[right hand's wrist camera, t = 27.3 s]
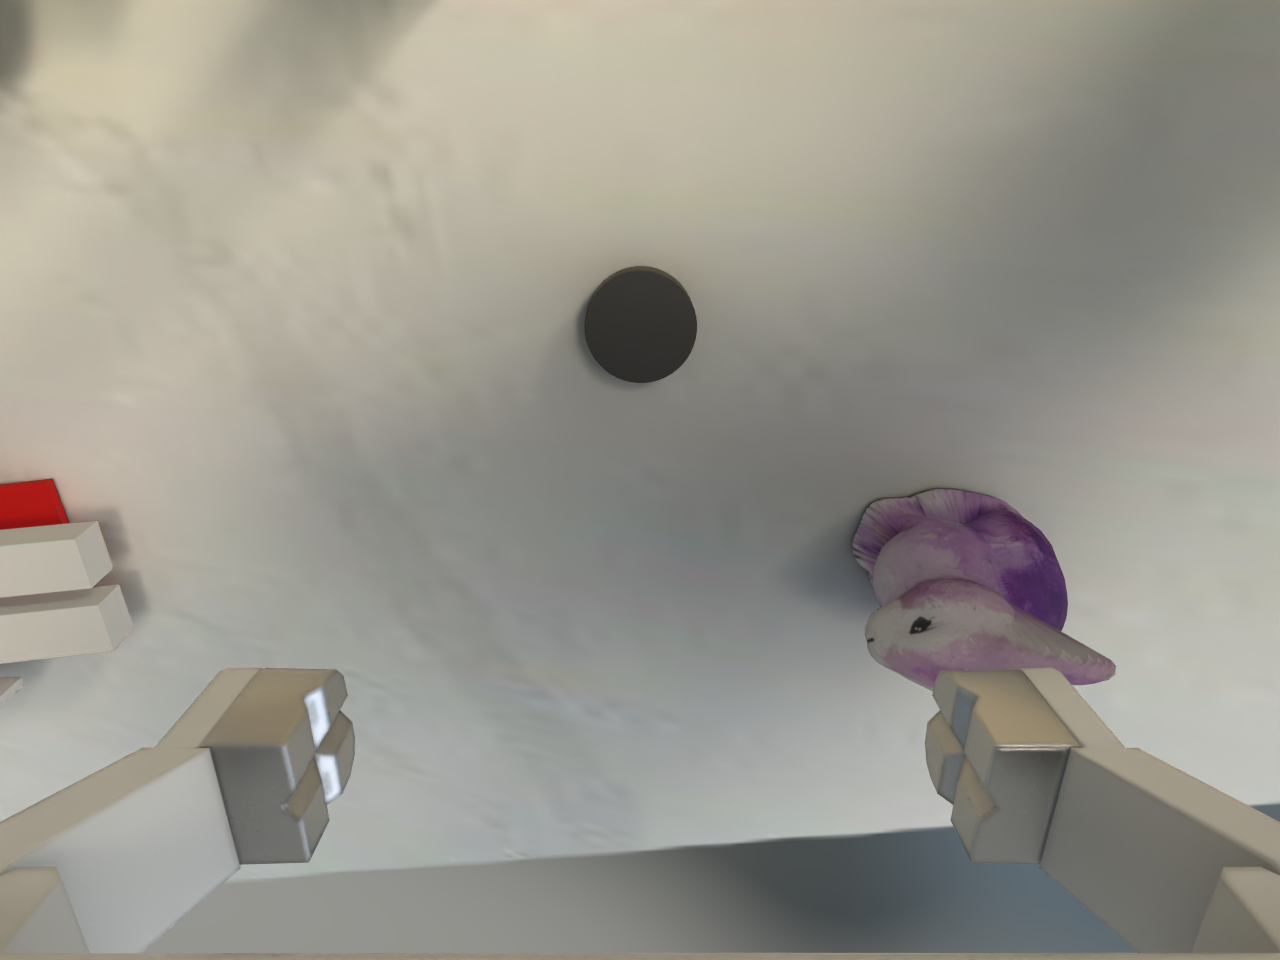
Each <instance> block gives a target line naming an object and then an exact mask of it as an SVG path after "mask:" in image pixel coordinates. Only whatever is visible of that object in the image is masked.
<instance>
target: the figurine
mask: <svg viewBox="0 0 1280 960" xmlns="http://www.w3.org/2000/svg"><path fill="white" fill-rule="evenodd" d="M862 518H863V520H862V521H860V522H861V524H860V525H859V528H858V529H857V533H855V537H854V539H853V544H852V546H853V548H852V551H853V554H854V557H855V559H856V561H857V562H858V563H859V564H860V566H862V567H863V568H864V569H866V570H867V571H868V572H869V578H870V583H871V585H872V586H873V588H874V594H875V597H876V599H877V601H878V603H879V604H880V606H881V607H880V608H879V609H878V610H876V611H875V612H874V613H872V614H871V616H870V617H869V619H868V622H867V624H866V629H865V636H866V639H867V645H868V650H869V652H870V654H871V656H872V657H873V658H874V659H875V660H876V661H877V662H878V663H880V664H881V665H883V666H885V667H886V668H888V669H890V670H892V671H895V672H897V673H899V674H900V675H902V676H904V677H905V678H907V679H909V680H911V681H913V682H915V683H917V684H919V685H921V686H923V687H925V688H927V689H929V690H931V691H933V689H934V684H935V680H936V678H937V676H938V674H939V672H940V670H1014V669H1019V668H1051V667H1052V668H1054V669H1056V670H1058V671H1060V672H1061V673H1062V674H1063V675H1064V676H1065V678H1066V679H1067V680H1068V681H1069V682H1070V683H1071V685H1086V684H1094V683H1097V682H1101V681H1105V680H1109V679H1110V678H1111V677H1112V676H1114V675H1115V669H1116V666H1115V664H1114V663H1113V662H1112V661H1111V660H1110V659H1108V658H1106V657H1105V656H1103V655H1101V654H1099V653H1098V652H1096V651H1094V650H1092V649H1091V648H1089V647H1087V646H1085V645H1084V644H1082V643H1080V642H1078V641H1077V640H1075V639H1073V638H1071V637H1069V636H1068V635H1066V634H1064V633H1062V632H1061V631H1062V628H1063V626H1064V623H1065V620H1066V616H1067V607H1068V600H1067V591H1066V585H1065V579H1064V576H1063V573H1062V571H1061V568H1060V566H1059V563H1058V560H1057V558H1056V555H1055V553H1054V550H1053V548H1052V545H1051V544H1050V542H1049V541H1048V540H1047V538H1046V537H1045V536H1044V534H1043V533H1042V532H1041V531H1040V530H1039V529H1038V528H1037V527H1035V526H1034V525H1033V524H1032V523H1030V522H1029V521H1027V520H1026V519H1024V518H1023V517H1022V516H1021V515H1020V514H1019V513H1018V512H1017V511H1016V510H1015V509H1013V508H1012V507H1011V506H1010V505H1008V504H1007V503H1006V502H1004V501H1002V500H1000V499H997V498H994V497H991V496H988V495H983V494H977V493H972V492H967V491H962V490H954V489H938V488H936V489H933V490H930V491H926V492H923V493H920V494H916V495H915V496H912V497H910V498H908V497H905V498H888V499H882V500H879V501H875V502H873V503H872V504H871V505H870V507H869V508H867V509H866V512H865V513H864V516H863V517H862Z"/></svg>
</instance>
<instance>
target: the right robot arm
mask: <svg viewBox="0 0 1280 960" xmlns="http://www.w3.org/2000/svg"><path fill="white" fill-rule="evenodd" d="M347 696H348V695H347V690H346V685H345V681H344V676H343V675H342V674H341V673H340V672H339V671H338V670H332V669H286V668H265V669H262V668H228V669H226V670H223V671H220V672H219V673H218V674H217V675H216V676H215V678H214V679H213V680H212V681H211V682H210V683H209V685H208V686H207V687H206V688H205V689H204V690H203V692H202V693H201V694H200V695H199V696H198V697H197V699H196V700H195V701H194V702H193V703H192V704H191V706H190V707H189V708H188V709H187V710H186V711H185V713H184V714H183V715H182V716H181V717H180V718H179V720H178V721H177V722H176V723H175V724H174V726H173V727H172V728H171V729H170V730H169V731H168V733H167V734H166V735H165V736H164V737H163V738H162V740H161V741H160V742H159V743H158V744H157V745H156V747H155V748H141V749H139V750H137V751H136V752H134V753H132V754H130V755H128V756H126V757H124V758H122V759H120V760H118V761H116V762H114V763H113V764H111V765H109V766H107V767H105V768H103V769H101V770H99V771H97V772H95V773H93V774H91V775H89V776H88V777H86V778H84V779H82V780H80V781H78V782H76V783H74V784H72V785H70V786H68V787H66V788H65V789H63V790H61V791H59V792H57V793H55V794H53V795H51V796H49V797H47V798H45V799H43V800H42V801H40V802H38V803H36V804H34V805H32V806H30V807H28V808H26V809H24V810H22V811H20V812H19V813H17V814H15V815H13V816H11V817H9V818H7V819H5V820H3V821H1V822H0V960H1280V822H1278V821H1276V820H1275V819H1273V818H1271V817H1269V816H1267V815H1265V814H1263V813H1261V812H1259V811H1257V810H1255V809H1253V808H1252V807H1250V806H1248V805H1246V804H1244V803H1242V802H1240V801H1238V800H1236V799H1234V798H1232V797H1231V796H1229V795H1227V794H1225V793H1223V792H1221V791H1219V790H1217V789H1215V788H1213V787H1211V786H1209V785H1208V784H1206V783H1204V782H1202V781H1200V780H1198V779H1196V778H1194V777H1192V776H1190V775H1188V774H1187V773H1185V772H1183V771H1181V770H1179V769H1177V768H1175V767H1173V766H1171V765H1169V764H1167V763H1165V762H1164V761H1162V760H1160V759H1158V758H1156V757H1154V756H1152V755H1150V754H1148V753H1146V752H1144V751H1143V750H1141V749H1139V748H1125V747H1124V745H1123V744H1122V743H1121V742H1120V741H1119V740H1118V738H1117V737H1116V736H1115V735H1114V734H1113V733H1112V731H1111V730H1110V729H1109V728H1108V727H1107V726H1106V724H1105V723H1104V722H1103V721H1102V720H1101V719H1100V717H1099V716H1098V715H1097V714H1096V713H1095V712H1094V710H1093V709H1092V708H1091V707H1090V706H1089V705H1088V703H1087V702H1086V701H1085V700H1084V699H1083V698H1082V696H1081V695H1080V694H1079V693H1078V692H1077V691H1076V689H1075V688H1074V687H1073V686H1072V685H1071V683H1070V682H1069V681H1068V680H1067V679H1066V678H1065V676H1064V675H1063V674H1062V673H1061V672H1060V671H1058V670H1056V669H1054V668H1052V667H1051V668H1019V669H1014V670H940V672H939V674H938V676H937V678H936V680H935V684H934V689H933V695H932V696H933V698H934V699H935V701H936V703H937V705H938V707H939V709H940V711H939V712H938V713H937V714H936V715H935V716H934V717H933V718H932V719H931V720H930V721H929V722H928V724H927V731H926V739H925V749H926V761H927V766H928V770H929V773H930V777H931V780H932V782H933V784H934V786H935V789H936V791H937V793H938V794H939V795H940V796H942V797H943V798H944V799H946V800H947V801H949V802H950V803H951V804H953V810H952V816H951V822H952V824H953V826H954V828H955V830H956V832H957V834H958V836H959V838H960V840H961V842H962V844H963V846H964V848H965V851H966V853H967V855H968V857H969V859H970V861H971V862H973V863H1008V864H1040V868H1041V869H1042V870H1043V871H1044V872H1045V873H1046V874H1047V875H1049V876H1050V877H1051V878H1052V879H1053V880H1054V881H1055V882H1057V883H1058V884H1059V885H1060V886H1061V887H1062V888H1064V889H1065V890H1066V891H1067V892H1068V893H1069V894H1071V895H1072V896H1073V897H1074V898H1075V899H1076V900H1078V901H1079V902H1080V903H1081V904H1082V905H1083V906H1084V907H1086V908H1087V909H1088V910H1089V911H1090V912H1091V913H1093V914H1094V915H1095V916H1096V917H1097V918H1098V919H1100V920H1101V921H1102V922H1103V923H1104V924H1105V925H1107V926H1108V927H1109V928H1110V929H1111V930H1112V931H1113V932H1115V933H1116V934H1117V935H1118V936H1119V937H1120V938H1122V939H1123V940H1124V941H1125V942H1126V943H1127V944H1129V945H1130V946H1131V947H1132V948H1133V949H1134V950H1136V951H1137V952H1138V953H142V952H143V951H145V950H146V949H147V948H148V947H149V946H150V945H152V944H153V943H154V942H155V941H156V940H157V939H159V938H160V937H161V936H162V935H163V934H164V933H166V932H167V931H168V930H169V929H170V928H171V927H173V926H174V925H175V924H176V923H177V922H178V921H180V920H181V919H182V918H183V917H184V916H185V915H187V914H188V913H189V912H190V911H191V910H192V909H193V908H195V907H196V906H197V905H198V904H199V903H200V902H202V901H203V900H204V899H205V898H206V897H207V896H209V895H210V894H211V893H212V892H213V891H214V890H215V889H217V888H218V887H219V886H220V885H221V884H223V883H224V882H225V881H226V880H227V879H228V878H230V877H231V876H232V875H233V874H234V873H235V872H236V871H238V870H239V869H240V864H271V863H305V862H309V861H310V859H311V857H312V855H313V853H314V851H315V849H316V847H317V845H318V843H319V841H320V838H321V836H322V834H323V832H324V830H325V828H326V826H327V824H328V822H329V816H328V810H327V804H329V803H330V802H331V801H333V800H334V799H336V798H337V797H338V796H340V795H341V794H342V793H343V791H344V789H345V786H346V784H347V782H348V780H349V778H350V774H351V769H352V764H353V760H354V755H355V736H354V730H353V724H352V722H351V721H350V720H349V719H348V718H347V717H346V716H345V715H344V714H343V713H342V712H341V711H340V709H341V707H342V705H343V703H344V701H345V699H346V698H347Z"/></svg>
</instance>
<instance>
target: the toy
mask: <svg viewBox="0 0 1280 960" xmlns="http://www.w3.org/2000/svg"><path fill="white" fill-rule="evenodd" d="M112 569H113V565H112V562H111V559H110V556H109V553H108V550H107V547H106V544H105V541H104V538H103V535H102V532H101V530H100V527H99V524H98V521H90V522H79V523H69V522H68V519H67V516H66V514H65V511H64V509H63V506H62V503H61V501H60V498H59V496H58V493H57V490H56V488H55V485H54V483H53V480H52V479H47V480H38V481H30V482H21V483H12V484H4V485H0V664H3V663H12V662H21V661H30V660H39V659H48V658H57V657H66V656H74V655H83V654H92V653H101V652H110V651H115V649H116V648H117V647H118V646H119V645H120V644H121V643H122V641H123V640H124V639H125V638H126V637H127V636H128V635H129V634H130V632H131V631H132V630H133V629H134V627H133V624H132V621H131V618H130V615H129V612H128V609H127V606H126V603H125V600H124V597H123V594H122V591H121V588H120V586H119V584H117V585H108V586H98V587H94V586H95V585H96V584H97V583H98V582H99V581H100V580H101V579H102V578H103V577H104V576H105V575H106V574H108V573H109V572H110V571H111V570H112ZM23 686H24V685H23V681H22V678H21V677H7V678H0V707H1V706H2V705H3V704H4V703H5V702H6V701H7V700H8V699H10V698H11V697H12V696H13V695H14V694H15V693H16V692H17V691H18V690H19V689H20V688H21V687H23Z"/></svg>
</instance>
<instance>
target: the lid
mask: <svg viewBox="0 0 1280 960" xmlns="http://www.w3.org/2000/svg"><path fill="white" fill-rule="evenodd" d="M696 333H697V321H696V315H695V310H694V308H693V305H692V302H691V300H690V297H689V296H688V294H687V292H686V290H685V289H684V288H683V286H682V285H681V284H680V283H679V282H678V281H677V280H676V279H675V278H674V277H672V276H671V275H669V274H668V273H666V272H664V271H662V270H659V269H656V268H652V267H646V266H636V267H629V268H626V269H622V270H620V271H618V272H616V273H614V274H612V275H611V276H609V277H608V278H607V279H606V280H604V281H603V283H602V284H601V285H600V286H599V287H598V288H597V290H596V291H595V293H594V295H593V297H592V299H591V302H590V304H589V307H588V309H587V313H586V318H585V335H586V340H587V344H588V347H589V349H590V351H591V353H592V355H593V357H594V358H595V360H596V361H597V362H598V363H599V365H600V366H601V367H603V368H604V369H605V370H606V371H607V372H609V373H610V374H612V375H613V376H615V377H617V378H620V379H622V380H625V381H629V382H636V383H646V382H653V381H656V380H660V379H662V378H664V377H666V376H668V375H670V374H672V373H673V372H674V371H676V370H677V369H678V368H679V367H680V366H681V365H682V364H683V363H684V362H685V360H686V359H687V358H688V356H689V354H690V353H691V350H692V348H693V346H694V342H695V339H696Z"/></svg>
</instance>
